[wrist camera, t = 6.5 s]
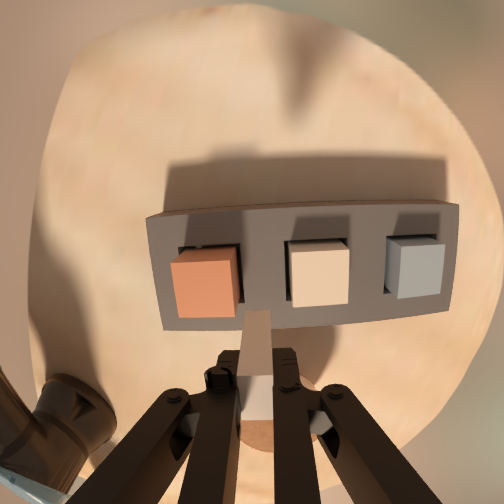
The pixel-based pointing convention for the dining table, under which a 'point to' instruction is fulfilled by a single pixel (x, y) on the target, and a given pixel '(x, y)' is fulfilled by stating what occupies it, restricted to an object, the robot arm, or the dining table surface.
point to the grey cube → (413, 265)
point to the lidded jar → (265, 429)
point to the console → (277, 261)
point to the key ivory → (318, 272)
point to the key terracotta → (206, 282)
